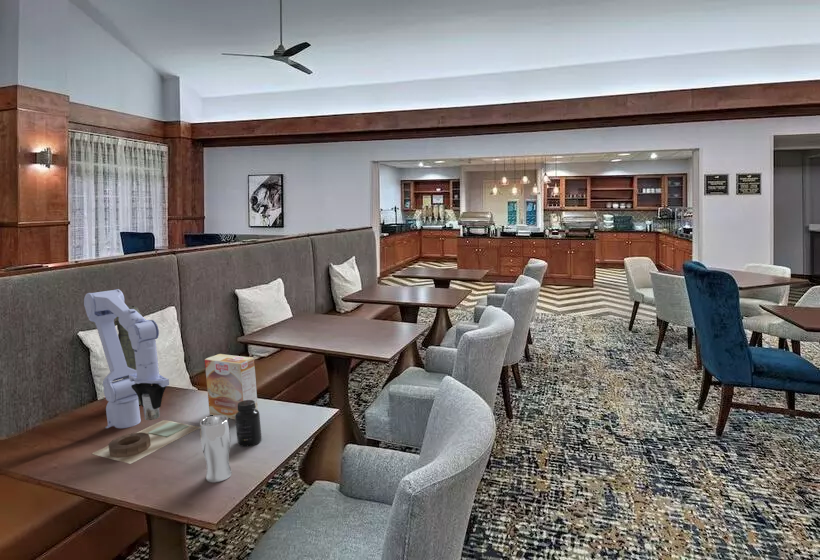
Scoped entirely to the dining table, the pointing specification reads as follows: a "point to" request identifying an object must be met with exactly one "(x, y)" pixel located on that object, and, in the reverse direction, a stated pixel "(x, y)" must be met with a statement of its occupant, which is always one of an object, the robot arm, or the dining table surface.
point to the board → (153, 442)
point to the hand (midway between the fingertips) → (151, 406)
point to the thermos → (127, 343)
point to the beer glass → (216, 447)
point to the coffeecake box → (229, 383)
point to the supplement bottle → (248, 424)
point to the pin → (149, 407)
